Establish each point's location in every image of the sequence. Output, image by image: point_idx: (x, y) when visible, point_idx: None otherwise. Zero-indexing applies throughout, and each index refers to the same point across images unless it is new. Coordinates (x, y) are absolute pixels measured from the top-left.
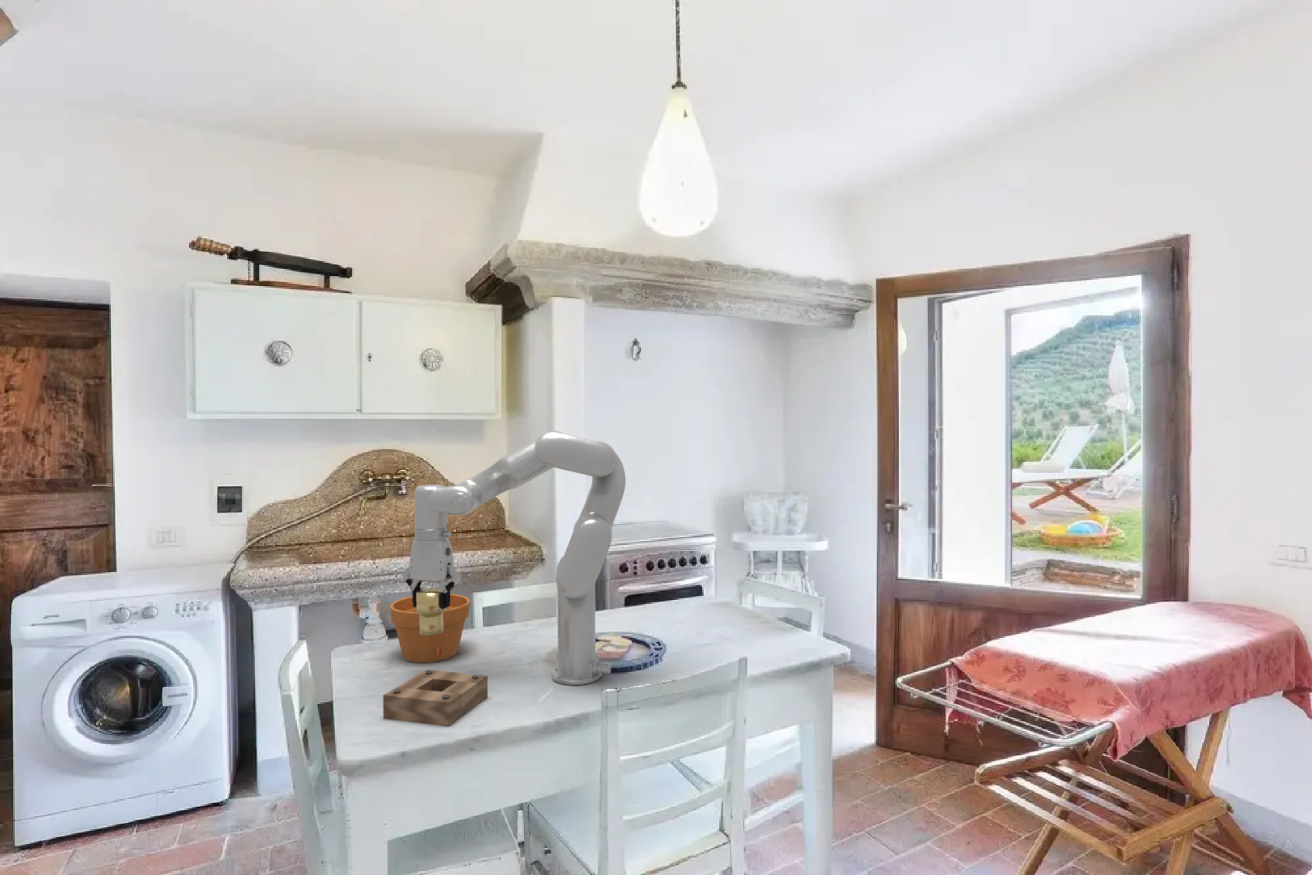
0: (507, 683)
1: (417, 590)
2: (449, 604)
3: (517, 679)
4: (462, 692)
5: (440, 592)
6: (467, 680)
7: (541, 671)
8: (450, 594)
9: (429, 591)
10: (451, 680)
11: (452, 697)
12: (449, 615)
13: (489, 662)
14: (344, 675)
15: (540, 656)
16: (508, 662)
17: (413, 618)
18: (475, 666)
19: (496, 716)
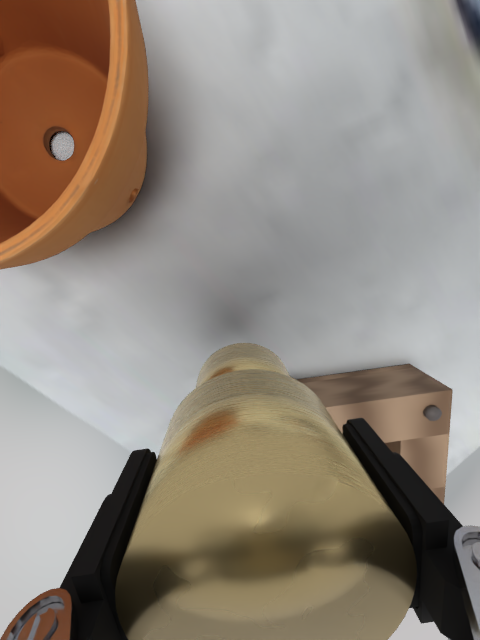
0: (403, 264)
1: (118, 629)
2: (365, 423)
3: (414, 232)
4: (443, 480)
5: (401, 602)
6: (419, 428)
7: (452, 154)
8: None
9: (271, 619)
10: (384, 442)
11: None
12: (129, 134)
13: (279, 143)
14: (8, 367)
15: (400, 24)
16: (331, 121)
17: (7, 265)
18: (261, 189)
19: (455, 408)
